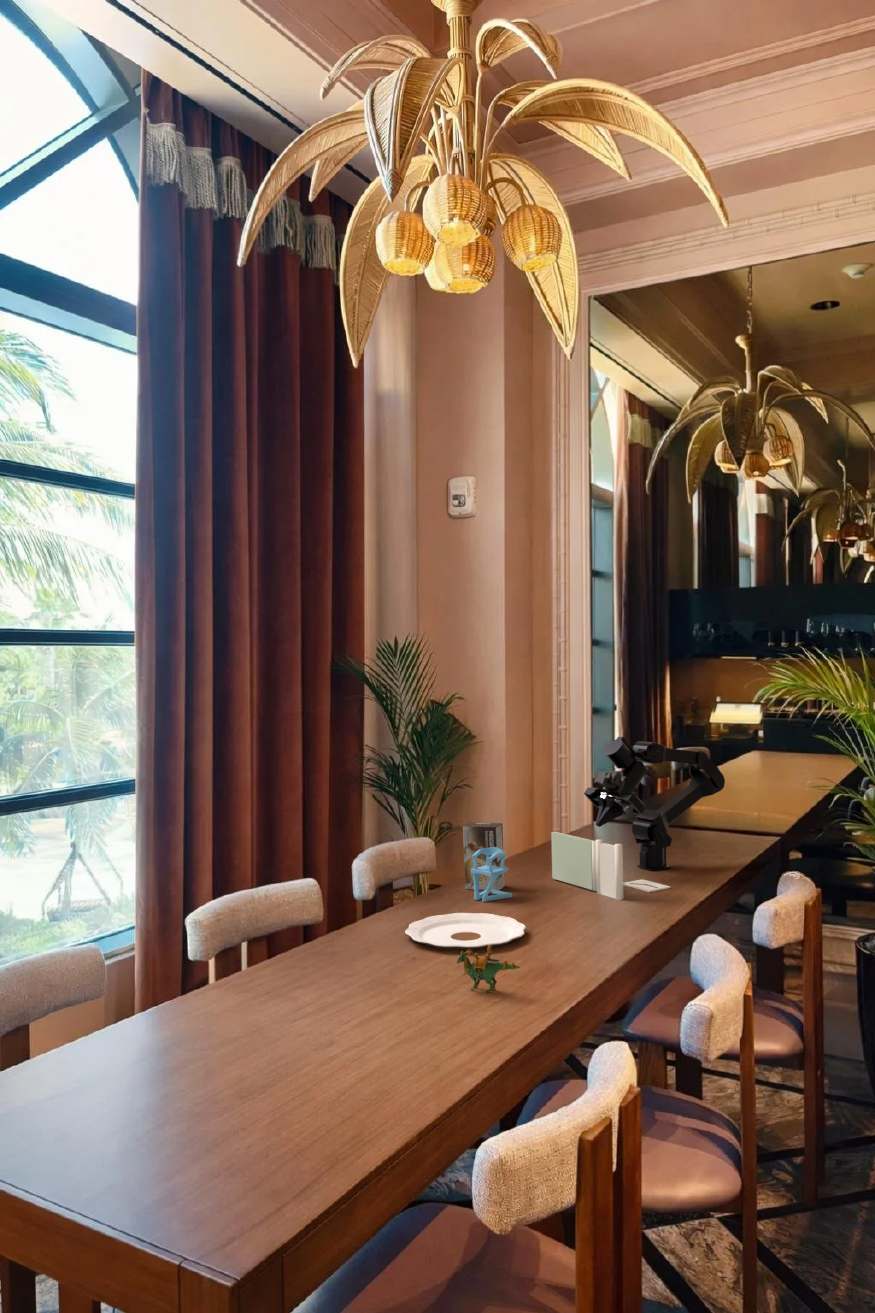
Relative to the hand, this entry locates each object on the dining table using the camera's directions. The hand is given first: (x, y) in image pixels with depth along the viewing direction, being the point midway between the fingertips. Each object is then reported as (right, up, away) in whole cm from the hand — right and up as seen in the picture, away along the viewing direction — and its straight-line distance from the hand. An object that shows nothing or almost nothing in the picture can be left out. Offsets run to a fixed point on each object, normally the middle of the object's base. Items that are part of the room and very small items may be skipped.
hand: (597, 825), depth 258 cm
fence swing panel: (-7, -13, -8) cm, 17 cm away
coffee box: (-30, -14, -8) cm, 34 cm away
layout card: (+10, -13, -11) cm, 20 cm away
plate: (-36, -15, -51) cm, 64 cm away
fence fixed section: (0, -14, -20) cm, 24 cm away
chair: (-29, -14, -19) cm, 38 cm away
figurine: (-33, -15, -85) cm, 92 cm away
